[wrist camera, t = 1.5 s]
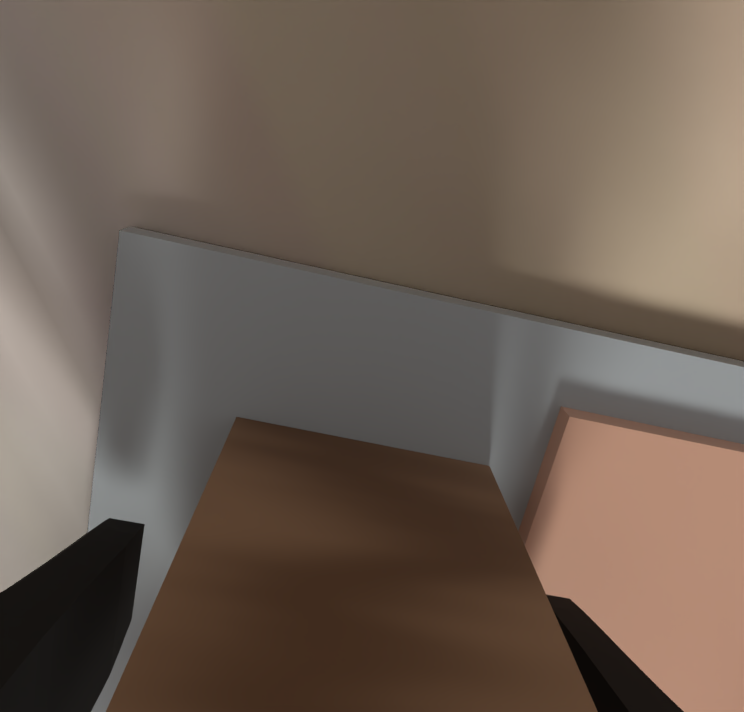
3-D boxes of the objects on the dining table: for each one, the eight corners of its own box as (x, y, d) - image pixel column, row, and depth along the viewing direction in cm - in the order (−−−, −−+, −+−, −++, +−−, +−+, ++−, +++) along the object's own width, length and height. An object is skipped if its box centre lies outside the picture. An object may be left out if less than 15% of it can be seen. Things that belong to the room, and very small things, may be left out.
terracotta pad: (932, 482, 13) (954, 495, 12) (772, 772, 15) (785, 792, 15) (561, 406, 12) (569, 416, 12) (452, 723, 14) (456, 743, 14)
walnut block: (489, 465, 12) (650, 829, 6) (426, 665, 14) (496, 1143, 7) (236, 416, 12) (87, 750, 5) (198, 629, 13) (45, 1102, 7)
